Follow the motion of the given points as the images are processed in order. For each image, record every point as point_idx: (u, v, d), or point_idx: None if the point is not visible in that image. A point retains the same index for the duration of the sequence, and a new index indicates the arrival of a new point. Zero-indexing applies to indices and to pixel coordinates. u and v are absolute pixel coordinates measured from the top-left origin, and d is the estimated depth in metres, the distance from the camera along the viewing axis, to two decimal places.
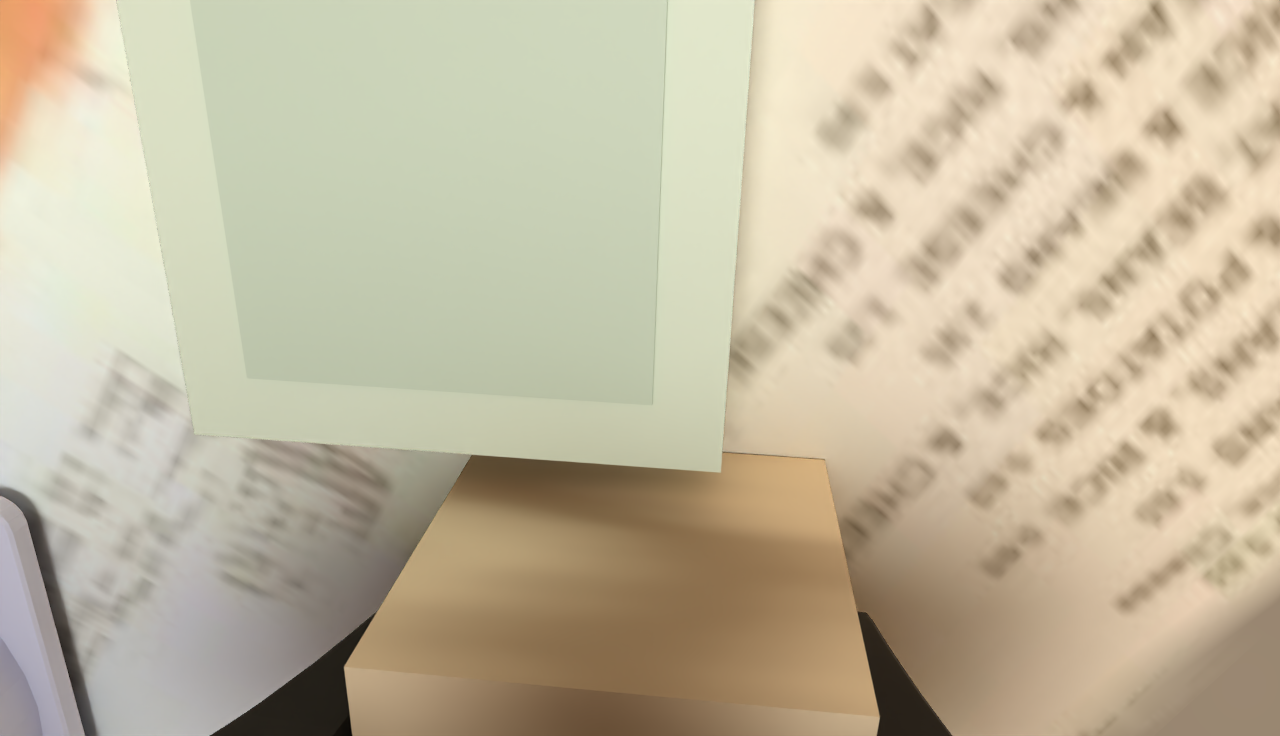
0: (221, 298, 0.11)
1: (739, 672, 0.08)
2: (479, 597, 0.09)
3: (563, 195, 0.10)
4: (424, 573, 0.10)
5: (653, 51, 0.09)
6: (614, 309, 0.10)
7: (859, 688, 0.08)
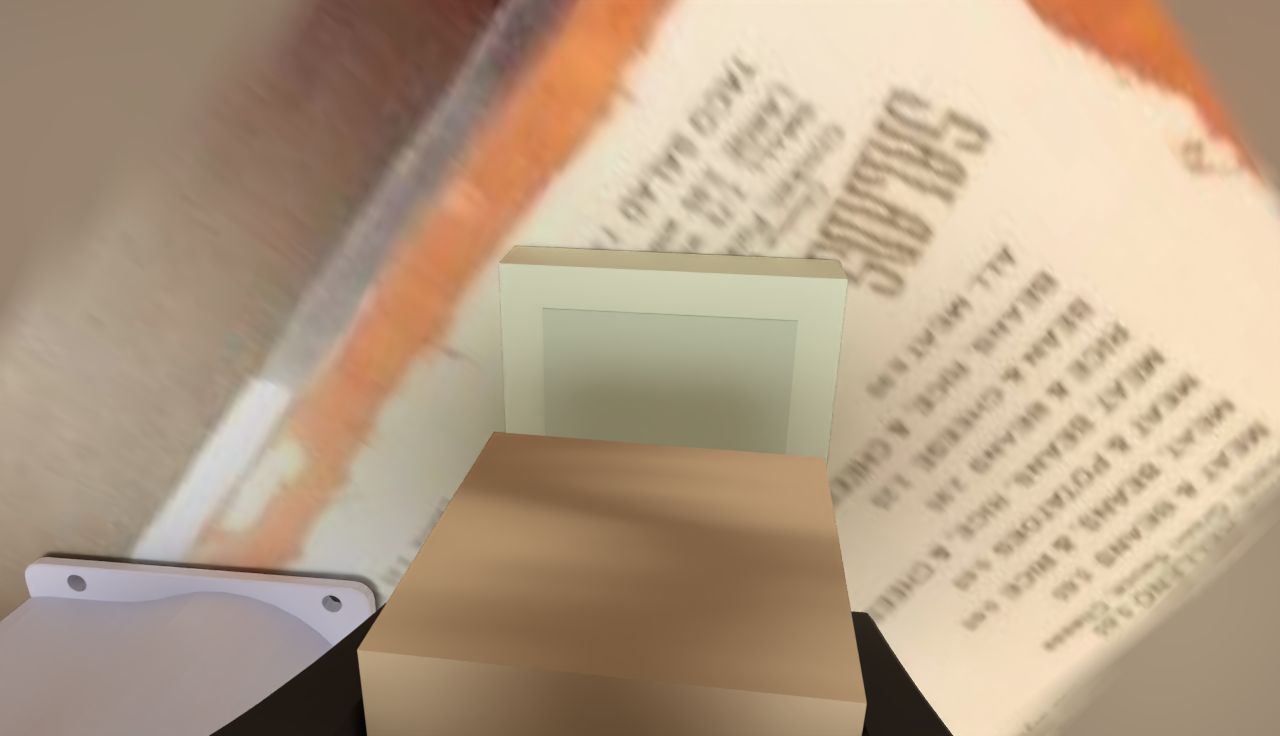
0: None
1: (733, 659, 0.09)
2: (487, 586, 0.10)
3: (735, 438, 0.18)
4: (434, 562, 0.10)
5: (787, 372, 0.18)
6: None
7: (848, 676, 0.08)
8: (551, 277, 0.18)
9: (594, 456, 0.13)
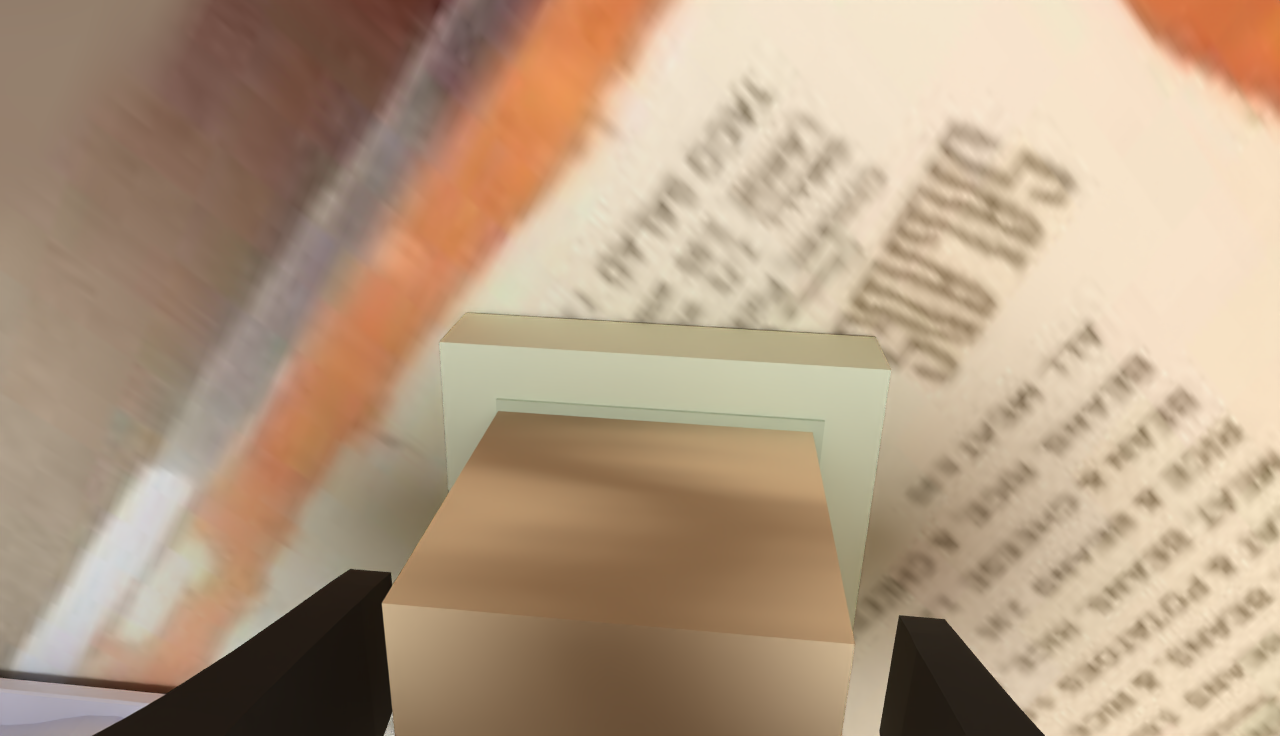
0: None
1: (731, 608, 0.09)
2: (499, 547, 0.10)
3: None
4: (449, 528, 0.11)
5: None
6: None
7: (837, 621, 0.09)
8: (506, 360, 0.14)
9: (595, 432, 0.13)
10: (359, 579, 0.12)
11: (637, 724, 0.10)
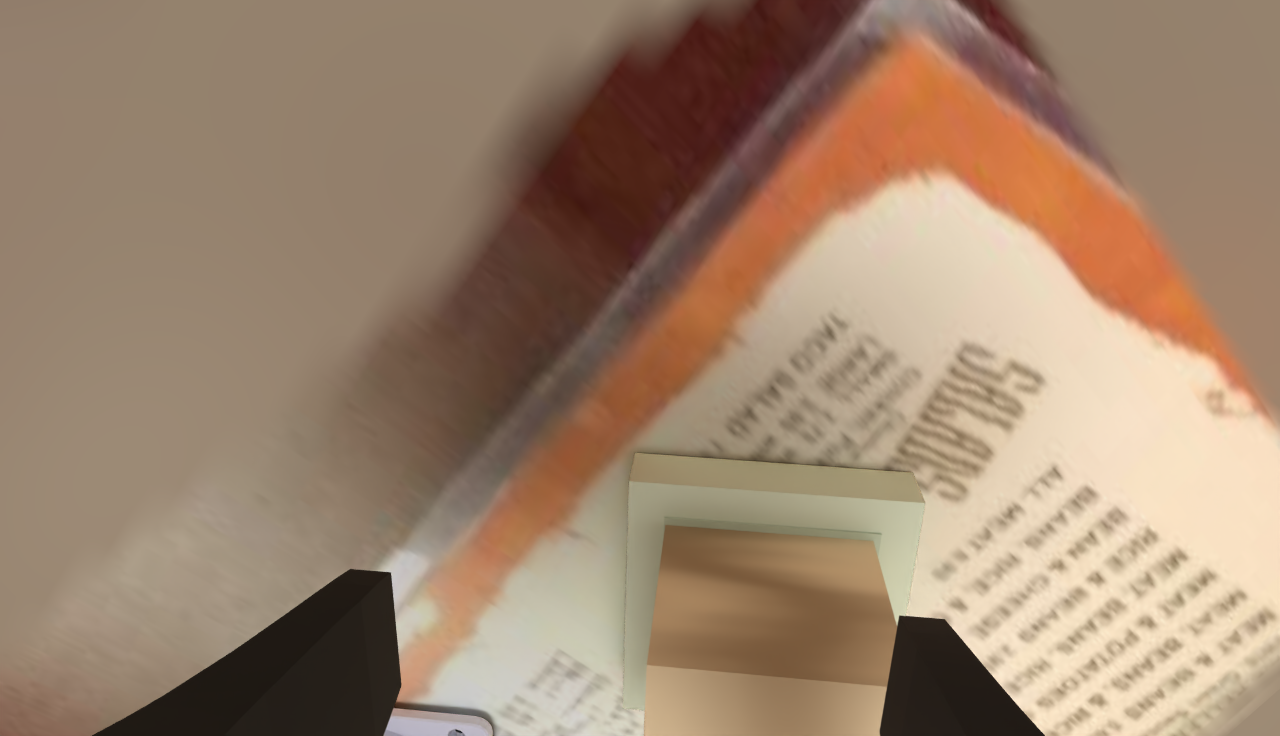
0: None
1: (843, 667, 0.17)
2: (700, 628, 0.17)
3: None
4: (666, 615, 0.18)
5: None
6: None
7: None
8: (673, 493, 0.21)
9: (733, 542, 0.20)
10: (360, 579, 0.12)
11: (788, 733, 0.17)
